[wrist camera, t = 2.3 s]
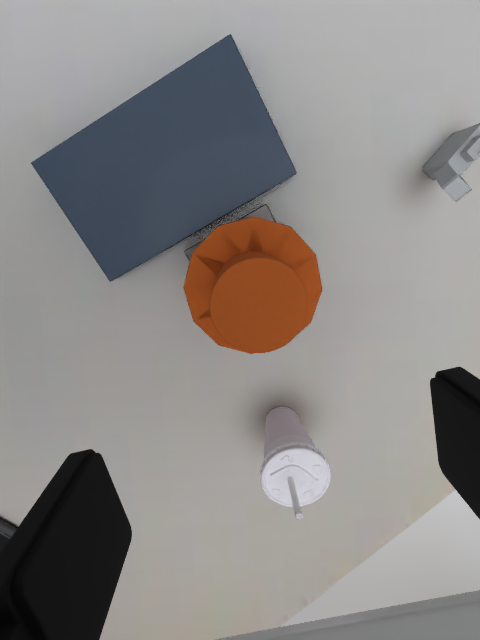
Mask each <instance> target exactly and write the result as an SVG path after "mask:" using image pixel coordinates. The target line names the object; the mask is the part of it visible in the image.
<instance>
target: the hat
mask: <svg viewBox="0 0 480 640" xmlns="http://www.w3.org/2000/svg"><path fill="white" fill-rule="evenodd" d="M184 291H185V294H186V298H187V301H188V304H189V308H190V311H191V314H192V318H193V321H194V322H195V323H196V324H197V325H198V326H199V327H200V328H201V329H202V330H203V331H204V332H205V333H206V334H207V335H208V336H209V337H210V338H212V339H213V340H214V341H215V342H216V343H217V344H218V345H220V346H224V347H227V348H231V349H235V350H239V351H243V352H247V353H250V354H252V353H265V352H270V351H273V350H276V349H279V348H281V347H283V346H285V345H286V344H287V343H289V342H290V341H291V340H292V339H293V338H294V337H295V336H296V335H297V334H298V333H300V332H301V331H302V330H303V329H304V328H305V327H306V326H307V325H309V324H310V323H311V320H312V318H313V315H314V312H315V309H316V306H317V303H318V300H319V298H320V295H321V292H322V285H321V280H320V274H319V269H318V264H317V259H316V254H315V253H314V252H313V251H312V250H311V249H310V247H309V246H308V245H307V244H306V243H305V242H304V241H303V240H302V239H301V237H300V236H299V235H298V234H297V233H296V232H295V231H294V230H293V229H292V228H291V227H289V226H286V225H282V224H279V223H276V222H272V221H269V220H266V219H262V218H259V217H251V218H247V219H243V220H239V221H235V222H231V223H228V224H224V225H220V226H218V227H217V228H216V229H215V230H214V231H213V232H212V233H211V234H210V235H209V236H208V237H207V238H206V239H205V240H204V241H203V242H202V243H201V244H200V245H199V246H198V247H197V248H196V249H195V250H194V251H193V253H192V256H191V260H190V264H189V268H188V272H187V276H186V280H185V284H184Z"/></svg>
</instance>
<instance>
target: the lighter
mask: <svg viewBox="0 0 480 640" xmlns="http://www.w3.org/2000/svg"><path fill="white" fill-rule="evenodd" d="M479 156H480V123H479V124H477V125H474V126H471V127H469V128H466V129H463V130H461V131H458V132H455V133H453V134H452V135H451V136H450V137H449V138H448V139H447V140H446V141H445V143H444V144H443V145H442V146H441V147H440V148H439V149H438V151H437V152H436V153H435V154H434V155H433V156H432V157H431V158H430V160H429V161H428V162H427V163H426V164H425V165H424V166H423V171H424V172H425V173H426V174H427V175H428V176H429V177H430V178H431V179H432V180H435V179H436V180H437V182H438V183H439V185H440V187H441V188H442V189H443V190H444V191H445V192H446V193H447V194H448V195H449V196H450V197H451V198H452V199H453V200H454V201H455V202H457V201H458V200H459V199H461V198H462V197H463V196H464V195H466V194H467V193H468V192H469V191H471V190H472V189H471V188H470V187H469V186H468V184H467V183H466V182H465V181H464V179H463V178H462V177H461V176H460V175H462V174H463V173H464V172H465V171H466V170H467V169H468V167H469V166H470V165H471V164H472V163H473V162H474V161H475V160H477V159H478V157H479Z"/></svg>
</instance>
